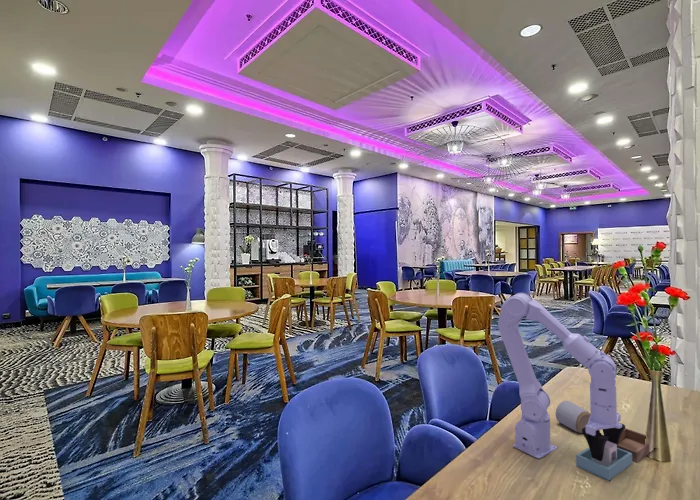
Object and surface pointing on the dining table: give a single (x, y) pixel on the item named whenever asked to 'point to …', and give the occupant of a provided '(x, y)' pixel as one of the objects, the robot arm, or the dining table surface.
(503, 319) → the robot arm
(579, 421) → the ceramic mug
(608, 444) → the letter block
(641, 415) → the dining table surface
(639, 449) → the walnut tray
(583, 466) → the teal tray
